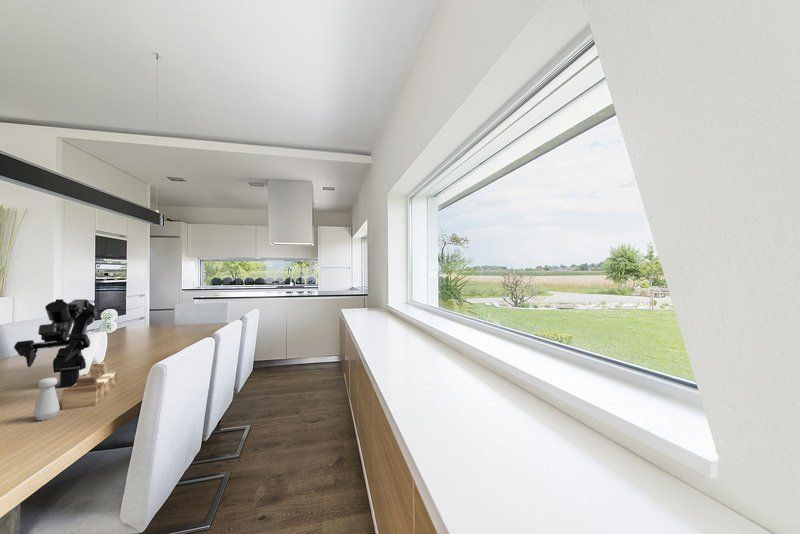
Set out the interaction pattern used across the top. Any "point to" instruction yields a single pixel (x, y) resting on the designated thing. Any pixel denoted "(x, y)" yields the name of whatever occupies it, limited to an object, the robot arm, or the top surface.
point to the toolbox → (86, 394)
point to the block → (86, 381)
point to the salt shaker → (47, 400)
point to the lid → (100, 373)
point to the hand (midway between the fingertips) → (47, 363)
